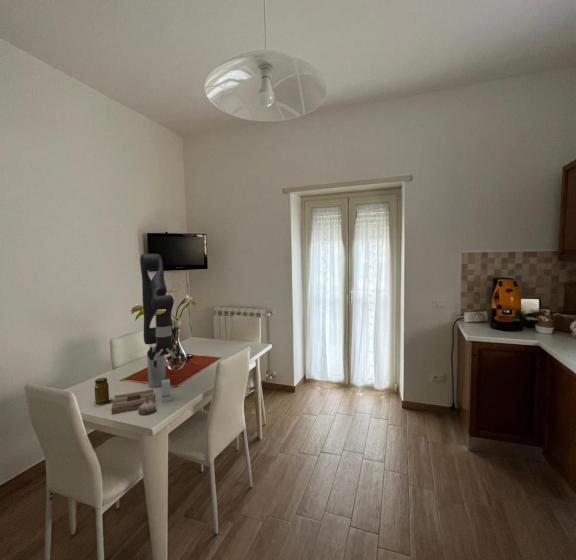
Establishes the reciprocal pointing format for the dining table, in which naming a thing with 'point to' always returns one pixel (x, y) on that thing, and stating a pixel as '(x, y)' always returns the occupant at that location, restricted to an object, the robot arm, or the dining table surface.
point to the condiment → (102, 392)
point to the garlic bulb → (147, 406)
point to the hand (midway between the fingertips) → (165, 366)
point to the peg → (166, 390)
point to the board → (131, 401)
